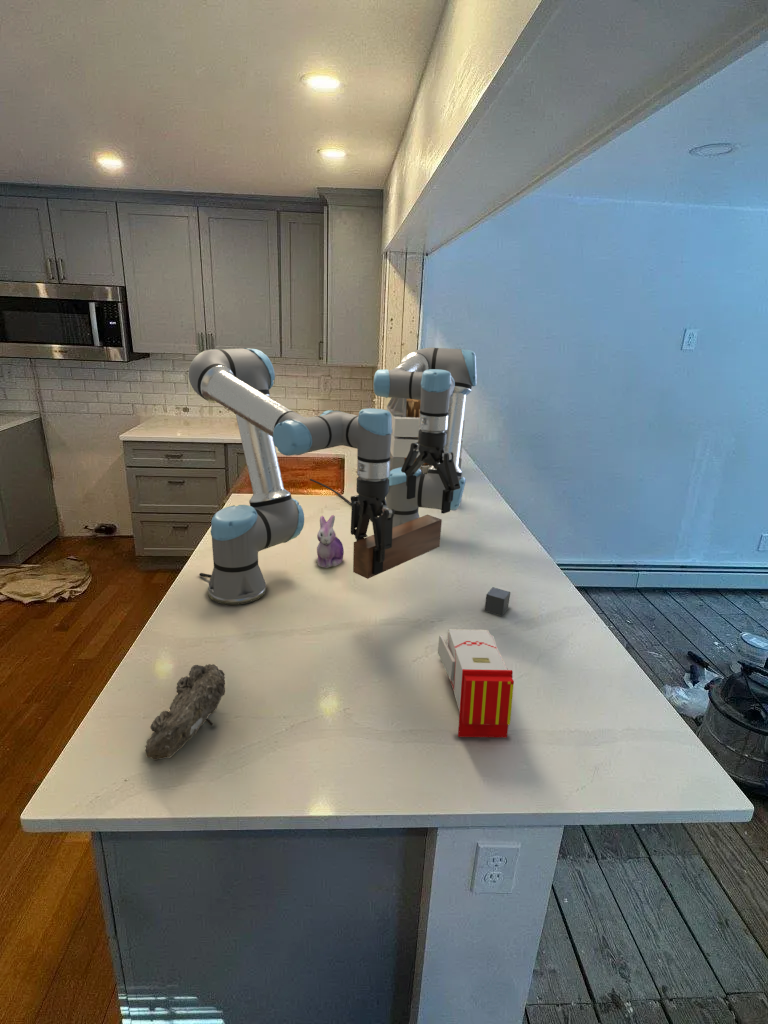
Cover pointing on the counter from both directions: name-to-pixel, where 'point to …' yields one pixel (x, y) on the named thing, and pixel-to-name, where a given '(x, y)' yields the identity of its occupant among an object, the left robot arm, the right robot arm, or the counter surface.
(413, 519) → the right robot arm
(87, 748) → the counter surface
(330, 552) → the figurine
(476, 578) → the counter surface
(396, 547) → the plank
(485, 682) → the toy
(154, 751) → the fossil
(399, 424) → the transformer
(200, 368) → the left robot arm
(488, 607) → the grey block
